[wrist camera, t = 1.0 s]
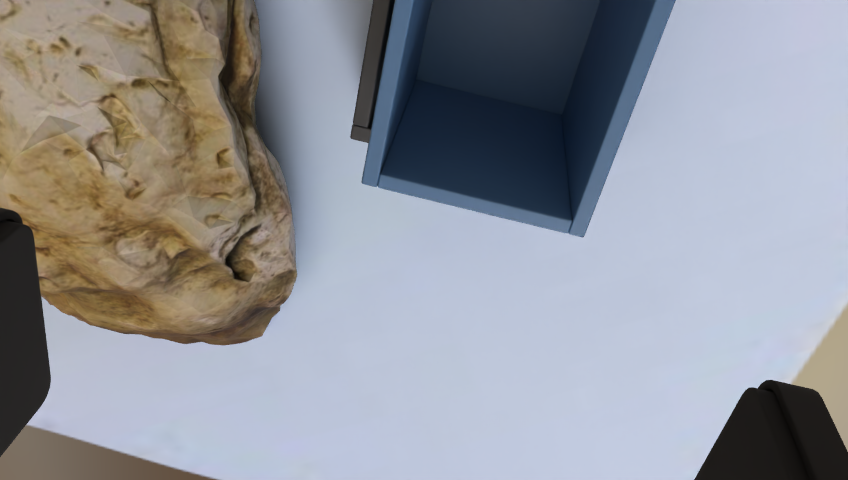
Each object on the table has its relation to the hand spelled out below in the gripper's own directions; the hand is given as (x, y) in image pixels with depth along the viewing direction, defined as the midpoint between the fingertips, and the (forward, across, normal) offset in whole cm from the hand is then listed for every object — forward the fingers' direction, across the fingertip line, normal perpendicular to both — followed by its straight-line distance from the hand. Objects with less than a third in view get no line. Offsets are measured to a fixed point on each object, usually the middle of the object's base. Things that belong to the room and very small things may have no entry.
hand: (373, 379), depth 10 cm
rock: (+22, +15, +6) cm, 27 cm away
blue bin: (+22, -2, -2) cm, 22 cm away
